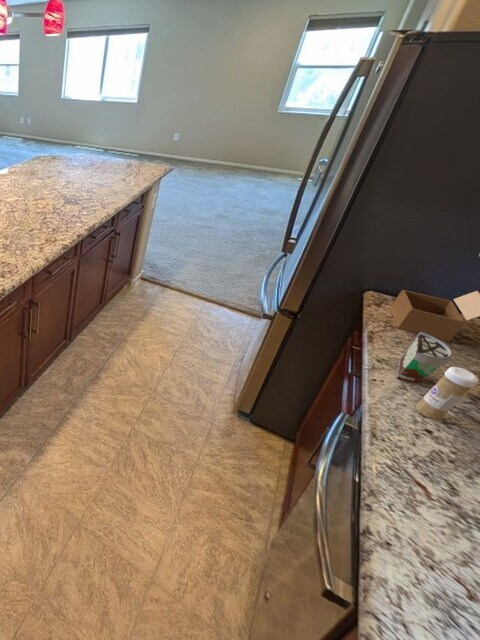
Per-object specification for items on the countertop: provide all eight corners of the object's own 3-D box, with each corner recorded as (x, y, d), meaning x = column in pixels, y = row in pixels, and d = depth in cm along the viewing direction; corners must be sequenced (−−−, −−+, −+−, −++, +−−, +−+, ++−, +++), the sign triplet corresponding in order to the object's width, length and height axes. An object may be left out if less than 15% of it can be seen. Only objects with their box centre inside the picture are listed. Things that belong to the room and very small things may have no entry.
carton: (437, 319, 121) (452, 301, 117) (449, 342, 113) (465, 322, 109) (389, 307, 127) (402, 289, 123) (397, 328, 118) (411, 309, 114)
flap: (453, 299, 117) (454, 299, 117) (466, 320, 109) (467, 321, 108) (477, 290, 113) (478, 291, 113) (493, 311, 105) (494, 312, 105)
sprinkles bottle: (409, 403, 95) (443, 364, 88) (431, 406, 94) (467, 367, 87) (425, 419, 91) (461, 380, 84) (447, 422, 90) (486, 383, 83)
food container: (429, 395, 97) (454, 367, 92) (395, 381, 101) (418, 353, 96) (431, 369, 104) (454, 342, 99) (399, 357, 108) (420, 330, 103)
